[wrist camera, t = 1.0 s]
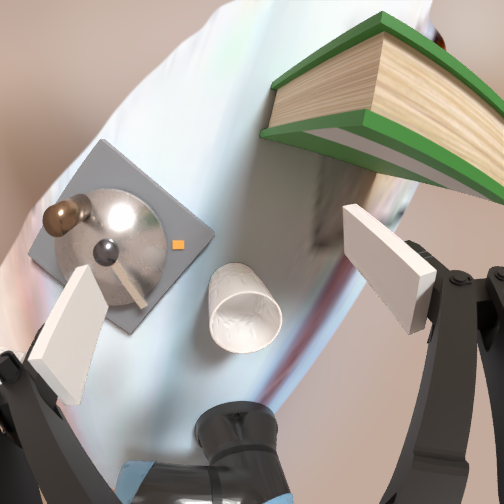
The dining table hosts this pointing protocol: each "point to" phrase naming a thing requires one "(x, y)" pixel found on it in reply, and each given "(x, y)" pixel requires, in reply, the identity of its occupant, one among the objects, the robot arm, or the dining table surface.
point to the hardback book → (394, 109)
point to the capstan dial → (110, 242)
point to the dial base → (166, 206)
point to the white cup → (241, 310)
